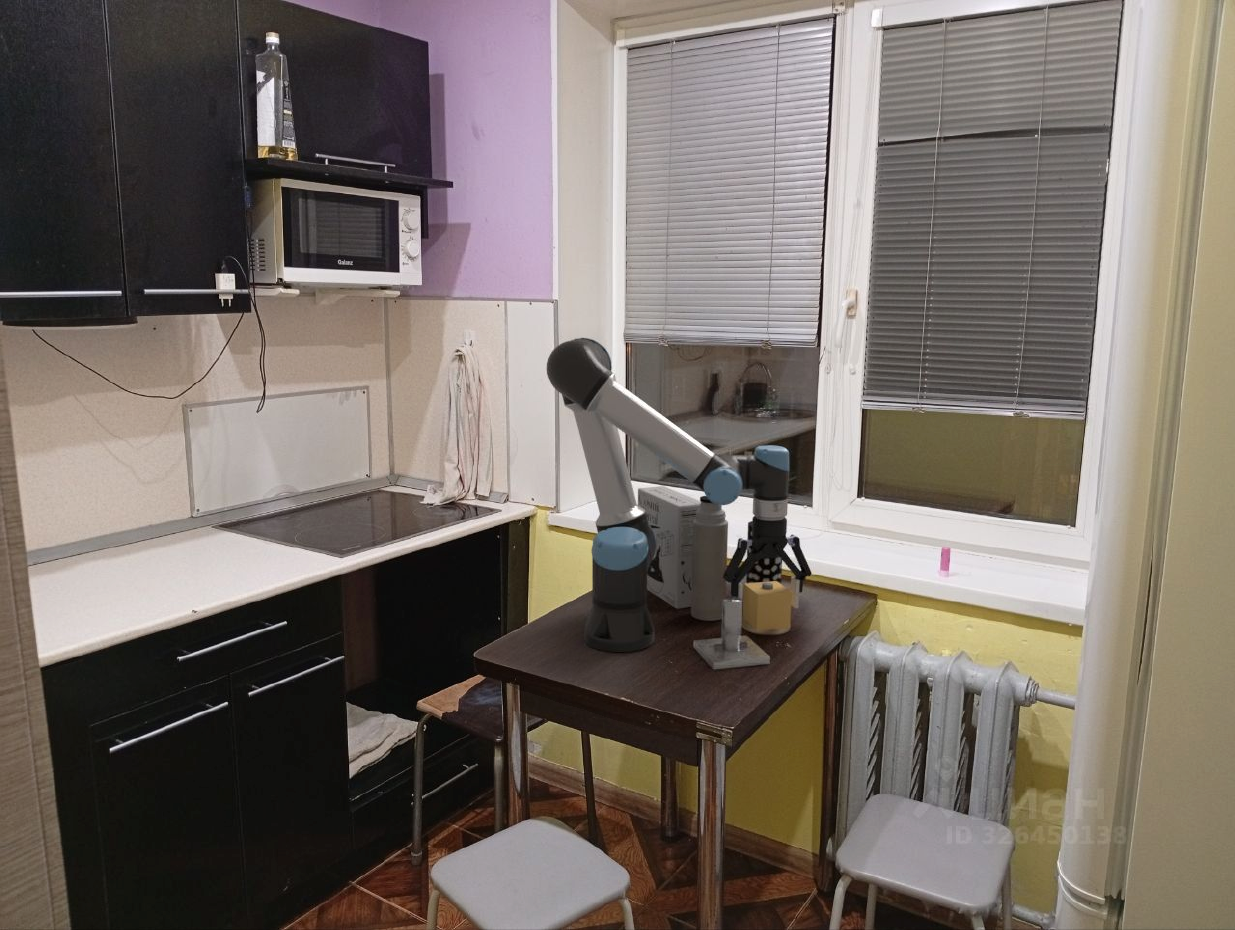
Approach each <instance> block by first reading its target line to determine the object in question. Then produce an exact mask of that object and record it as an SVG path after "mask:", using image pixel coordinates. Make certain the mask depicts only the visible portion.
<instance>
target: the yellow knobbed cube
mask: <svg viewBox="0 0 1235 930" xmlns="http://www.w3.org/2000/svg"><path fill="white" fill-rule="evenodd" d="M791 597H792V592H791V589H789V588H788V587H786V586H784V585H783V584H782V583H781V584H780V583H778V582H777V581H770V582H757V583H746V582H745V583H743V593H742V619H744V620H745V621H746V622H747V623H749V624H750V625H751V626H752V627H753V628H754V629H755V630H768V629H779V628H789V627H790V623H791V622H792V621H791V617H792V616H791V615H792V606H791Z"/></svg>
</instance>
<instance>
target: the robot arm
mask: <svg viewBox="0 0 1235 930" xmlns="http://www.w3.org/2000/svg"><path fill="white" fill-rule="evenodd" d="M612 368H613V366H612V359H611V356H610V354H609V352H608V350H607V349H606V347H604V346H603V345H602V343H600V342H599V341H596V340H595V339H592V338H588V337H579V338H574V339H571V340H568V341H564V342H562V343H560V344H558V345H557V346H556V347H555V348H553V349H552V351H551V352H550V354H549V356H548V359H547V362H546V374H547V378H548V380H549V382H550V384H551V386H552V387H553V388H554V389H555V390H556V391H557V392H558V393H560V394H561V396H562V400H563V404H564V407H565V408H568V409H569V410H571V411H572V412H573V415H574V418H575V422H576V426H577V431H578V435H579V438H580V441H581V442H580V443H581V445H582V449H583V453H584V457H585V462H586V465H587V468H588V469H587V470H588V474H589V477H590V480H591V485H592V488H593V492H594V496H595V500H596V504H597V508H598V512H599V515H598V517H597V519H596V520H595V527H596V530H597V533H596V535H594V537H593V540H592V546H591V556H592V557H591V558H592V559H591V560H592V561H591V562H592V578H591V579H592V591H591V592H592V595H591V596H592V599H591V600H592V602H591V603H592V604H591V608H590V611H589V613H588V617H587V620H586V623H585V625H584V628H583V629H584V630H583V632H584V634H583V635H584V637H583V638H584V642H585V644H586V645H588V646H589V647H591V648H593V649H595V650H599V651H603V652H609V653H629V652H631V653H632V652H637V651H641V650H644V649H646V648H649V647H651V646H652V645H653V644H654V642H655V638H656V637H655V634H656V633H655V628H654V624H653V621H652V617H651V615H650V612H649V608H648V601H647V599H648V598H647V597H648V590H647V571H648V568H649V566H650V563H651V561H652V559H653V557H654V555H655V551H656V537H655V534H654V532H653V530H652V528H651V527H650V525H649V523H648V519H647V516H646V512H645V509H643V508H641V507H640V506H638V502H637V501H636V500H637V499H636V497H635V492H634V488H633V485H632V480H631V476H630V473H629V469H628V464H627V461H626V457H625V453H624V448H623V445H622V441H621V437H620V433H619V430H620V431H621V432H623V433H624V434H625V435H627V436H628V437H629V438H631V439H632V440H633V441H635V442H636V443H638V445H640V446H642V447H643V448H644V449H646V450H647V451H649V453H651V454H652V455H654V456H655V457H656V458H658V459H659V460H661V461H662V462H663V463H664V464H666V465H668V466H669V467H670V468H672V469H673V470H674V471H676V472H678V474H679V475H681V476H683V477H684V478H685V479H687V480H688V481H690V482H691V483H692V484H693V485H695V486H696V487H697V488H699V489H700V490H702V492H703V493H704V494H705V495H704V496H707V498H708V499H709V500H710V501H711V502H713V503H715V504H717V505H722V506H727V505H730V504H733V503H734V502H735V501H736V500H737V499H738V498H739V496H740V495H741V492H742V490H748V491H749V490H753V495H752V498H753V499H752V514H753V515H754V516H753V517H752V520H751V521H752V538H751V540H747V539H744V538H742V537H739V538H738V539H737V547H736V550H735V551H734V553H733V555H732V557H731V559H730V561H729V564H727V565H728V566H727V569H726V571H725V573H724V575H723V579H725V580H726V583H727V582H728V583H730V597H738V598H741V599H742V600H743V589H744V584H742V583H741V582H742V580H743V579H744V578H746V574H747V573H748V572H749V571H750V569H751V568H752V567H753V566H754V564H755V563H756V562H758V561H759V560H760V559H761V558H763V559H767V558H777V557H778V556H779V557H780V558H781V559H782V563H784V564H785V565H786V566H787V568H788V569H789V570H790V571H791V573H792V574H793V576H791V577H790V579H791V580H790V591H791V592H792V597H791V607H793V608H794V609H799V603H800V601H799V600H800V593H802V592H803V589H804V588H803V587H804V581H805V580H806V577H810V576H812V570H811V568H810V566H809V563H808V562H807V559H806V557H805V554H804V553H803V549H802V547H801V540H800V538H799V537H798V536H796V535H794V534H791V535H789V536H787V532H788V531H787V528H788V519H787V518H786V517H787V516H788V507H789V505H788V503H789V501H788V500H789V485H790V484H789V481H790V452H789V450H788V449H787V448H786V447H784V446H779V445H757V446H756V447H755V449H754V452H753V454H750V455H749V454H747V455H744V454H743V455H741V454H722V453H719V454H718V453H714V452H713V451H711V450H710V449H708V448H707V447H706V446H705V445H703V444H702V443H701V442H699V441H698V440H696V439H695V438H694V437H692V436H691V435H690V434H688V433H687V432H685V430H683V429H681V428H680V427H678V425H676V424H674V423H673V422H672V421H670V420H669V419H668V418H667V417H665V416H664V415H663V414H661V413H659V411H657V410H656V409H654V408H653V407H651V406H650V405H649V404H647V403H646V402H645V401H644V400H642V399H641V398H639V397H638V396H637V395H635V394H634V393H632V392H631V391H630V390H629V389H627V388H626V387H624V386H623V385H622V384H620V383H619V382H618V381H617V378H616V374H615V373H614V372H612ZM749 546H752V548H753V549H752V550H751V551H750V553H749V554H748V557H747V556H746V558H745V559H744V557H745V555H746V554H747V549H749ZM786 546H790V548H791V551H792V552H793V555H794V557H795V559H796V561H797V563H798V566H799V567H798V566H797V565H796V564H795V563H794V561H793V560H792V559H791V558H790V556H789V555H788V554H787V552H786V551H785V550H784V549H785V548H786ZM743 559H744V560H743ZM742 561H743V562H742Z"/></svg>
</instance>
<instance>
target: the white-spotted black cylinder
mask: <svg viewBox="0 0 1235 930" xmlns="http://www.w3.org/2000/svg"><path fill="white" fill-rule="evenodd" d="M751 538H752V520H750V521H748V523H747V538H746V540H751ZM752 549H753V548H752V546H749V549H747V550H746V558H747V557H748V554H749V553H750V551H751V550H752ZM782 573H783V560H782V559H781V558H780V557H779V556H778V557H777V558H767V559H763V558H761V559H760V560H759V561H758V562H756V563H755V564H754V566H753V567H752V568H751V569H750V571H749V572H748V573H747V574H746V576H745V583H757V582H770V581H777V582H778V583H780V584H781V585H782V576H783V575H782Z"/></svg>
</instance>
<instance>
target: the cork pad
mask: <svg viewBox="0 0 1235 930" xmlns="http://www.w3.org/2000/svg"><path fill="white" fill-rule="evenodd" d="M791 626H792V625H791V622H790V627H789V628H779V629H768V630H755V629H754V628H753V627H752V626H751V625H750V624H749V623H747V622H746V621H745V620H744V619H743V618H742V623H741V629H744V630H745V631H747V632H750V633H753V634H757V635H761V636H762V635H763V636H764V635H766V636H777V635H782V634H785V633H787V632H789V631H790V630H791Z"/></svg>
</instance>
